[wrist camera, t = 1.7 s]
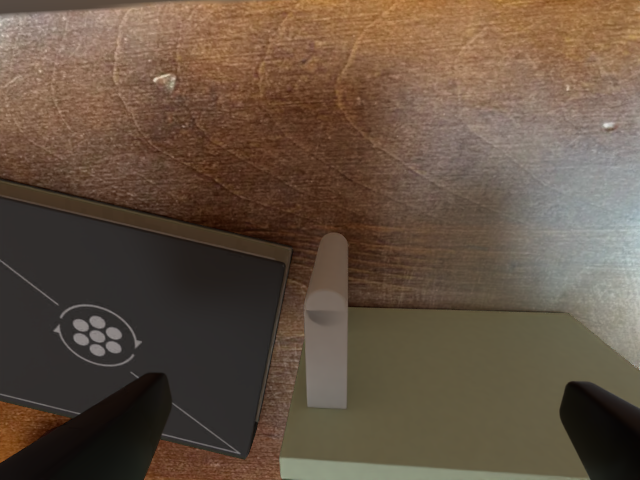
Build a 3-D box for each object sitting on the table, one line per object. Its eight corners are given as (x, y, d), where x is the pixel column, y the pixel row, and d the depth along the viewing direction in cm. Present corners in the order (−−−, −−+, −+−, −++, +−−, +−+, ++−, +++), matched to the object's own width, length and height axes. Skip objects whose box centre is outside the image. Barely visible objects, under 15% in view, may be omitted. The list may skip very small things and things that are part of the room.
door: (309, 226, 19) (268, 322, 9) (590, 228, 18) (884, 341, 8) (311, 319, 21) (280, 478, 11) (565, 327, 20) (777, 515, 10)
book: (-17, 359, 25) (-65, 389, 22) (-47, 166, 20) (-113, 172, 17) (258, 425, 24) (246, 463, 22) (294, 246, 20) (285, 264, 17)
